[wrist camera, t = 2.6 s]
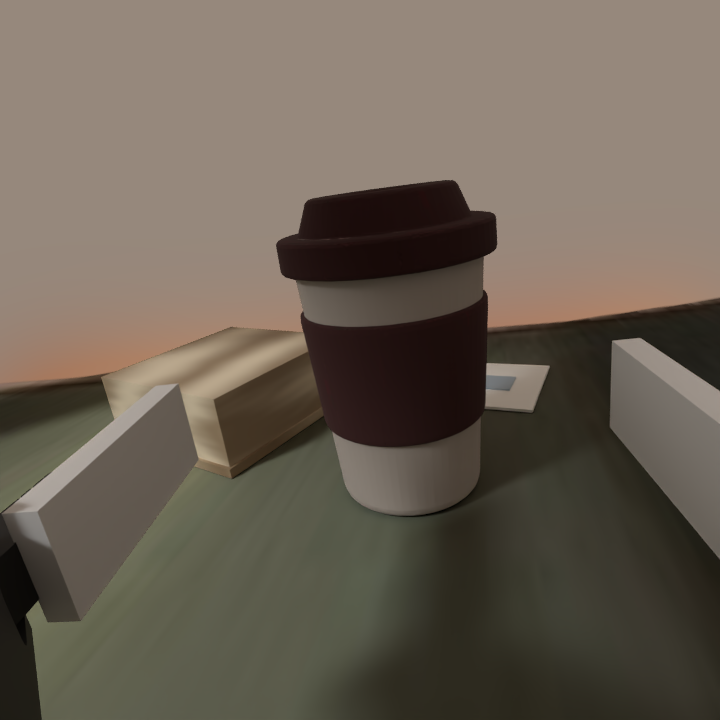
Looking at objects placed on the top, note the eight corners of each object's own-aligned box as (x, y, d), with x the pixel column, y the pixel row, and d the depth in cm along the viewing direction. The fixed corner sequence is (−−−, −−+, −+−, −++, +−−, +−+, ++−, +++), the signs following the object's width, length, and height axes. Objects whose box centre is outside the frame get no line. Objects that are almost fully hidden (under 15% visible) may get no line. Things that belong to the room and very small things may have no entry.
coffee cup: (413, 420, 34) (389, 185, 29) (546, 472, 27) (542, 167, 22) (287, 484, 29) (230, 209, 24) (408, 573, 21) (362, 195, 16)
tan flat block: (117, 441, 37) (96, 377, 36) (242, 378, 47) (231, 326, 45) (231, 478, 30) (212, 401, 28) (352, 396, 39) (343, 334, 38)
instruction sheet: (391, 401, 38) (390, 397, 38) (427, 362, 44) (427, 359, 44) (532, 412, 33) (532, 408, 33) (549, 368, 40) (549, 364, 40)
